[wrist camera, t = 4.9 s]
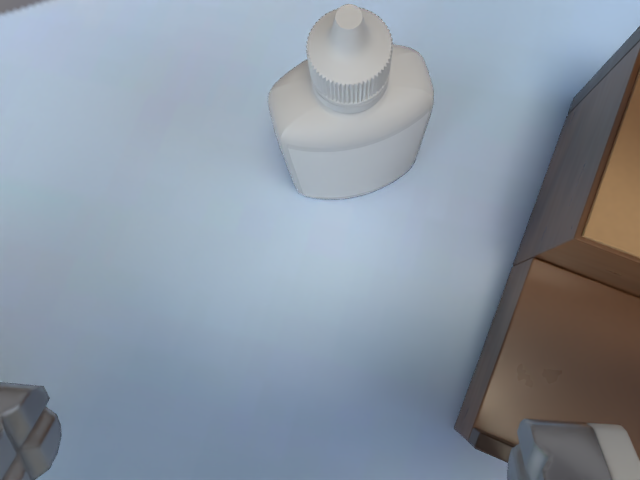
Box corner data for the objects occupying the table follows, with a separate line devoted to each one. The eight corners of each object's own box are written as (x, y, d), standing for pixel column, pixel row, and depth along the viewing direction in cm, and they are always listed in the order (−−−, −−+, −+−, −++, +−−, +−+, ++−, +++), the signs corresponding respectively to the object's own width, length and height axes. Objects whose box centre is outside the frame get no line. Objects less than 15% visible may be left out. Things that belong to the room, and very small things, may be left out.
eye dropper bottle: (399, 221, 25) (438, 121, 13) (281, 192, 26) (219, 71, 14) (421, 132, 26) (477, -38, 14) (305, 106, 26) (266, -79, 15)
